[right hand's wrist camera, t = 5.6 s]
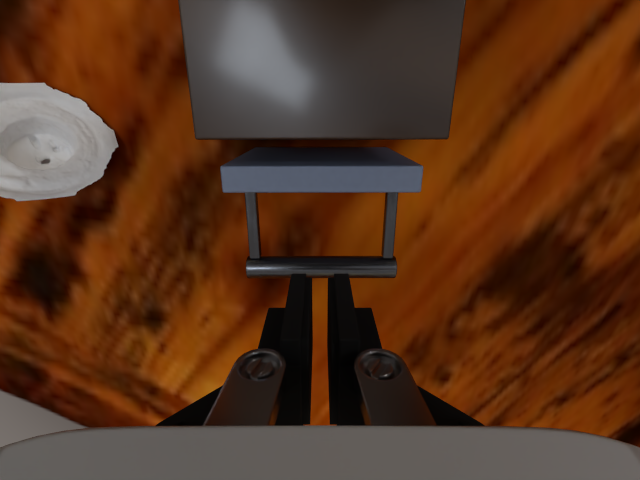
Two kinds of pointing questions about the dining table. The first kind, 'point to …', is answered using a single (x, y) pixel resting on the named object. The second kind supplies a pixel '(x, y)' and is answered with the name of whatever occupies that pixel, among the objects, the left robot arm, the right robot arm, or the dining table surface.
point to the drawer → (321, 176)
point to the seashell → (49, 143)
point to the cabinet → (321, 68)
